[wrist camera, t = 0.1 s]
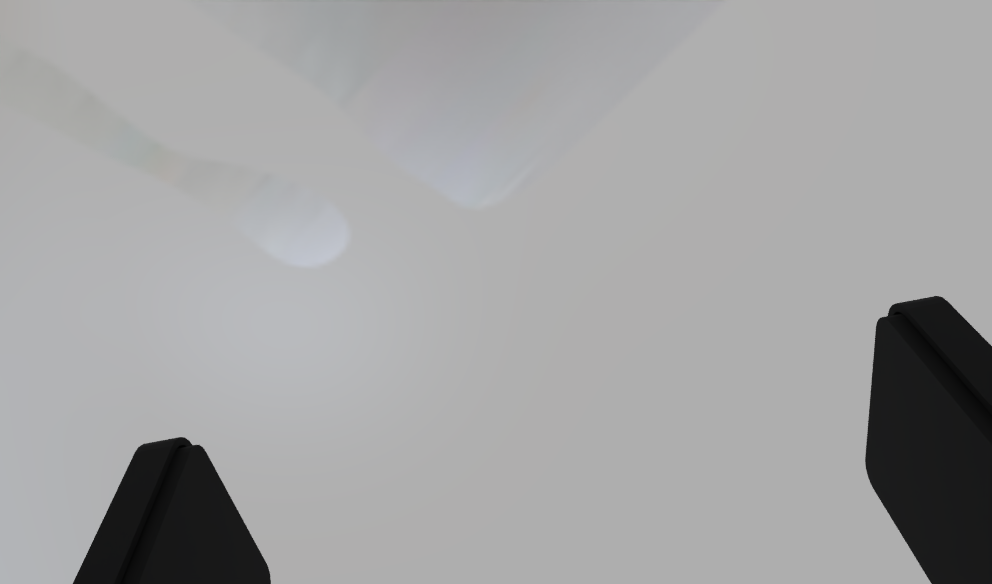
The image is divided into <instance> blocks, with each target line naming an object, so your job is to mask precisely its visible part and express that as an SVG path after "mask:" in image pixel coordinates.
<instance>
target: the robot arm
mask: <svg viewBox="0 0 992 584" xmlns="http://www.w3.org/2000/svg"><path fill="white" fill-rule="evenodd" d="M873 361H874V362H873V373H872V385H871V397H870V409H869V421H868V422H869V423H868V434H867V435H868V436H867V446H866V459H865V462H866V470H867V474H868V477H869V480H870V483H871V485H872V487H873V489H874V490H875V492H876V494H877V495H878V497H879V498H880V500H881V502H882V503H883V505H884V507H885V508H886V510H887V512H888V513H889V515H890V516H891V518H892V520H893V521H894V523H895V525H896V526H897V528H898V530H899V531H900V533H901V534H902V536H903V538H904V539H905V541H906V542H907V544H908V546H909V548H910V549H911V551H912V552H913V554H914V556H915V557H916V559H917V560H918V562H919V564H920V565H921V567H922V569H923V570H924V572H925V574H926V575H927V577H928V579H929V580H930V582H931V583H932V584H992V346H991V345H990V344H989V343H988V342H987V341H986V340H985V339H984V338H983V337H982V336H981V335H980V334H979V333H978V332H977V331H976V330H975V329H974V328H973V327H972V326H971V325H970V324H969V323H968V322H967V321H966V320H965V319H964V318H963V317H962V316H961V315H960V314H959V313H958V312H957V311H956V310H955V309H954V308H953V307H952V305H951V304H950V303H949V302H948V301H946V300H945V299H944V298H942V297H939V296H934V297H929V298H923V299H919V300H913V301H907V302H902V303H897V304H894V305H892V306H891V308H890V309H889V313H888V316H887V317H882V318H880V319H879V320H878V322H877V326H876V336H875V348H874V360H873ZM73 584H271V580H270V573H269V569H268V566H267V564H266V562H265V560H264V558H263V556H262V555H261V553H260V551H259V549H258V547H257V545H256V543H255V542H254V540H253V538H252V536H251V534H250V533H249V531H248V529H247V527H246V525H245V523H244V522H243V520H242V518H241V516H240V514H239V512H238V510H237V509H236V507H235V505H234V503H233V501H232V499H231V497H230V496H229V494H228V492H227V490H226V488H225V486H224V484H223V483H222V481H221V479H220V477H219V475H218V473H217V472H216V470H215V468H214V466H213V464H212V462H211V461H210V459H209V457H208V455H207V453H206V452H205V450H204V449H203V447H201V446H200V445H192V444H191V443H190V441H189V440H187V439H186V438H183V437H179V438H174V439H168V440H163V441H157V442H152V443H147V444H143V445H141V446H140V447H138V449H137V450H136V452H135V454H134V456H133V458H132V460H131V462H130V464H129V466H128V468H127V471H126V473H125V475H124V477H123V479H122V481H121V483H120V485H119V487H118V490H117V492H116V494H115V496H114V498H113V500H112V502H111V504H110V506H109V509H108V511H107V513H106V515H105V517H104V519H103V521H102V523H101V525H100V528H99V530H98V532H97V534H96V536H95V538H94V540H93V542H92V544H91V547H90V549H89V551H88V553H87V555H86V557H85V559H84V561H83V563H82V566H81V568H80V570H79V572H78V574H77V576H76V578H75V580H74V582H73Z"/></svg>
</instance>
